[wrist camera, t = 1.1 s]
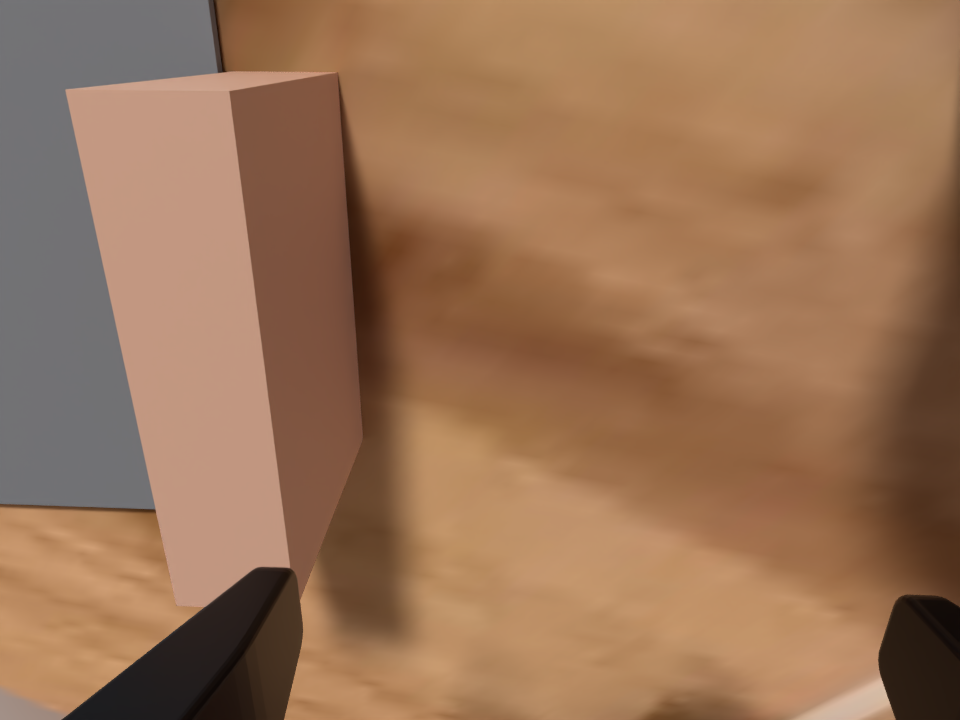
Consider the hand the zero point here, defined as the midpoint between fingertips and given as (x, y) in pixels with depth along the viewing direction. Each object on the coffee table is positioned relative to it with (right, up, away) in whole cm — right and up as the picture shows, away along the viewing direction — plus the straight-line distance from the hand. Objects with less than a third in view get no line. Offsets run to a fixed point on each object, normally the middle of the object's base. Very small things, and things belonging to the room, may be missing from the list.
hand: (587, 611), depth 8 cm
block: (-6, +5, +11) cm, 14 cm away
